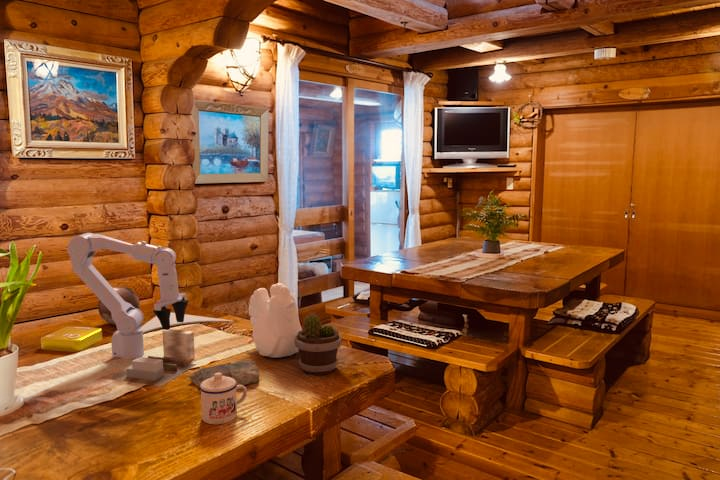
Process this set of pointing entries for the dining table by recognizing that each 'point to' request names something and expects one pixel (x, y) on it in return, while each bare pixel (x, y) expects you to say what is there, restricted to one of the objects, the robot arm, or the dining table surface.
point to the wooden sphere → (126, 296)
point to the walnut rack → (170, 372)
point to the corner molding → (156, 323)
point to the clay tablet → (228, 372)
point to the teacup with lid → (220, 399)
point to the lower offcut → (144, 374)
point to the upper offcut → (147, 364)
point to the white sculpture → (274, 321)
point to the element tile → (71, 339)
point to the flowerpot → (317, 346)
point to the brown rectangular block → (178, 344)
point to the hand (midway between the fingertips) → (173, 325)
